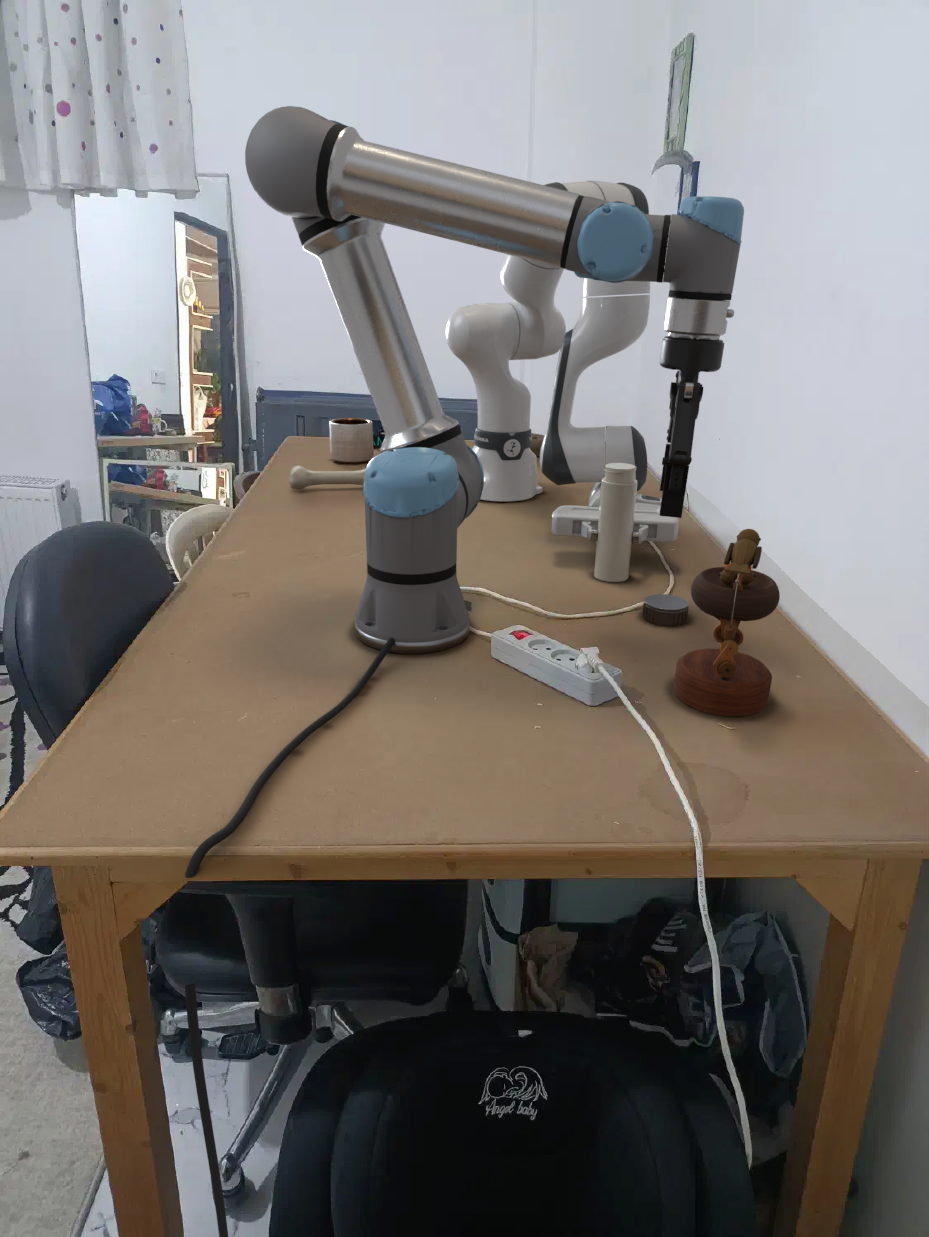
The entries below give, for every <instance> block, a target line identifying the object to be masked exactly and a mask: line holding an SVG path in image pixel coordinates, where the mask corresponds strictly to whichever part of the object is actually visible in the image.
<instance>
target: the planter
mask: <svg viewBox="0 0 929 1237" xmlns="http://www.w3.org/2000/svg"><path fill="white" fill-rule="evenodd" d="M328 424H329V425H328V426H329V453H330V454H329V455H330V456H329V457H330V459H331V460H332V461H333V462H335V463H341V464H363V463H367V462H368V463H369V462H370V461H371V460H372V459H373V458H374V457H375V455H374V452H375V451H374V450H375V449H374V447H373V433H374V430H373V429H374V428H373V420H371V419H369V418H362V417H361V418H360V417H342V418H341V417H340V418H335V419H334V418H333V419H331V420H329V421H328Z"/></svg>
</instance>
